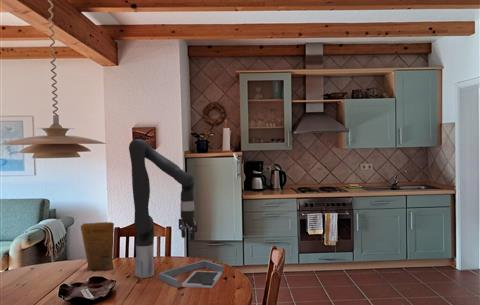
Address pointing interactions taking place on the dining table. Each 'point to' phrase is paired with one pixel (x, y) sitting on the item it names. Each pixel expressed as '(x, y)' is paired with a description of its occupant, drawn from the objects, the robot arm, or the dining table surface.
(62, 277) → the dining table surface
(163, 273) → the open-front box
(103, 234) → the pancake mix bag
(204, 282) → the picture frame
